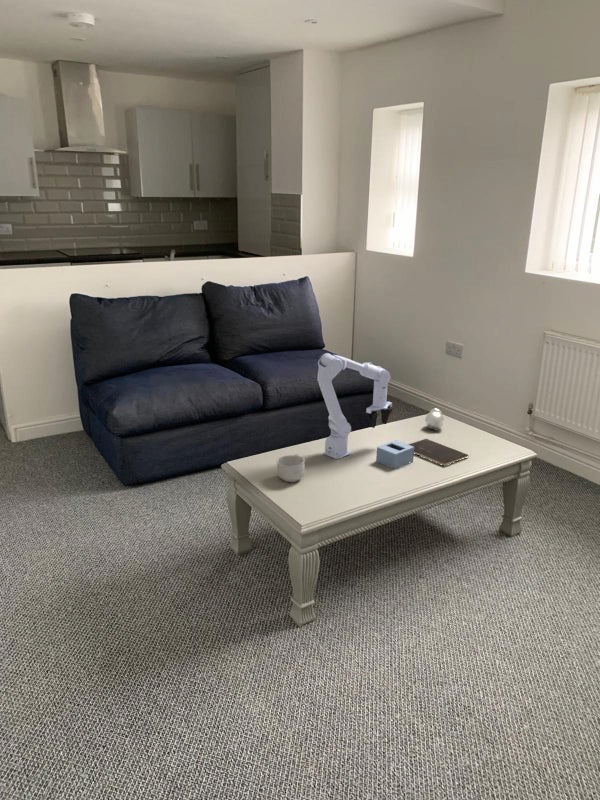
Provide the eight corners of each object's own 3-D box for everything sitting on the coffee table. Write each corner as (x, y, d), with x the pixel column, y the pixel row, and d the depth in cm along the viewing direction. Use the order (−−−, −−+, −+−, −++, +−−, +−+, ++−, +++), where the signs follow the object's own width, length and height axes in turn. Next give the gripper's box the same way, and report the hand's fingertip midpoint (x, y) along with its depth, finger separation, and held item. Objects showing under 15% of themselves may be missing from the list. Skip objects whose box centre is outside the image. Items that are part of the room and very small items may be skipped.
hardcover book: (444, 468, 262) (444, 463, 261) (402, 451, 279) (402, 446, 278) (468, 459, 272) (468, 454, 271) (426, 443, 289) (426, 438, 288)
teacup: (295, 487, 242) (296, 467, 239) (271, 480, 247) (271, 461, 244) (313, 473, 253) (313, 455, 251) (289, 468, 258) (289, 449, 256)
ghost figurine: (447, 428, 305) (449, 408, 302) (437, 433, 298) (439, 413, 295) (431, 424, 311) (432, 404, 308) (420, 429, 304) (422, 409, 301)
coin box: (394, 468, 259) (395, 454, 257) (376, 461, 266) (377, 446, 264) (413, 461, 267) (414, 446, 265) (394, 454, 274) (395, 440, 272)
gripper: (375, 401, 266) (374, 431, 270) (398, 394, 275) (396, 424, 280) (363, 397, 271) (361, 427, 275) (385, 390, 280) (383, 419, 285)
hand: (378, 425), depth 278 cm, fingers open, 7 cm apart
